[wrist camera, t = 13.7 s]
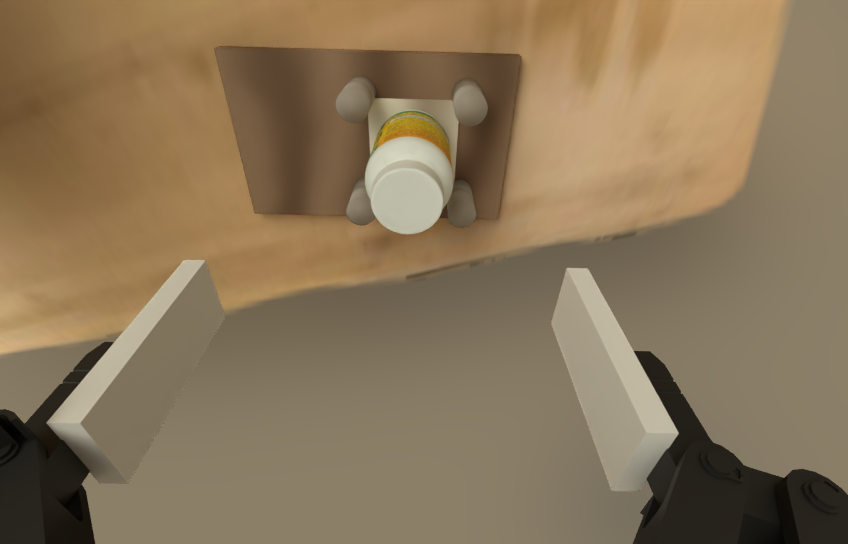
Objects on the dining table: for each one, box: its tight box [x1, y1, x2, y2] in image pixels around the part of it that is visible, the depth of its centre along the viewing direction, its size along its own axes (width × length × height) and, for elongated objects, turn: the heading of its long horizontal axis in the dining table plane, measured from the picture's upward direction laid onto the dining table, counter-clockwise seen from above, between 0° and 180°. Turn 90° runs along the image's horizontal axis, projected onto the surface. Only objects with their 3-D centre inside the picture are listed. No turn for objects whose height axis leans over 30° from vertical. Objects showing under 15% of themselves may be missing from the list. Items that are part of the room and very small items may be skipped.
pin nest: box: [214, 46, 521, 228], centre depth 29 cm, size 20×12×5 cm, turn 89°
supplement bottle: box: [365, 110, 454, 234], centre depth 26 cm, size 5×5×10 cm
